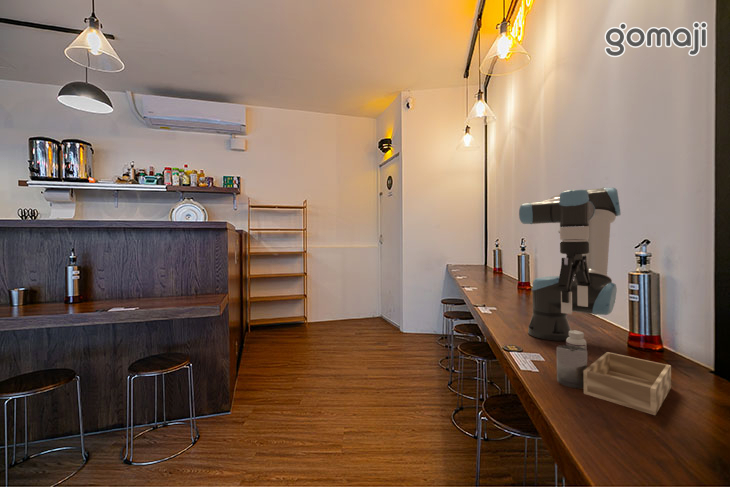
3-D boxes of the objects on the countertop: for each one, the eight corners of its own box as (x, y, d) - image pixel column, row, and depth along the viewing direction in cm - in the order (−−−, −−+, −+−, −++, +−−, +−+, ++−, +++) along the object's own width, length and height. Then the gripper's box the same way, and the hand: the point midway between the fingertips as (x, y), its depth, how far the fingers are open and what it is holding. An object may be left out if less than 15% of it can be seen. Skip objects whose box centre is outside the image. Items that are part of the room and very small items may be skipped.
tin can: (562, 374, 93) (562, 343, 93) (591, 382, 88) (591, 349, 88) (552, 382, 89) (552, 349, 89) (582, 391, 84) (581, 356, 83)
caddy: (607, 371, 95) (606, 351, 95) (671, 387, 84) (670, 365, 84) (583, 393, 82) (583, 370, 82) (655, 415, 72) (655, 389, 72)
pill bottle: (568, 358, 106) (568, 328, 105) (588, 362, 102) (588, 331, 102) (564, 363, 102) (563, 332, 102) (584, 367, 98) (584, 335, 98)
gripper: (575, 239, 112) (575, 301, 112) (544, 242, 96) (545, 314, 96) (601, 239, 106) (602, 305, 106) (573, 242, 90) (573, 319, 91)
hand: (574, 309), depth 101 cm, fingers open, 13 cm apart
